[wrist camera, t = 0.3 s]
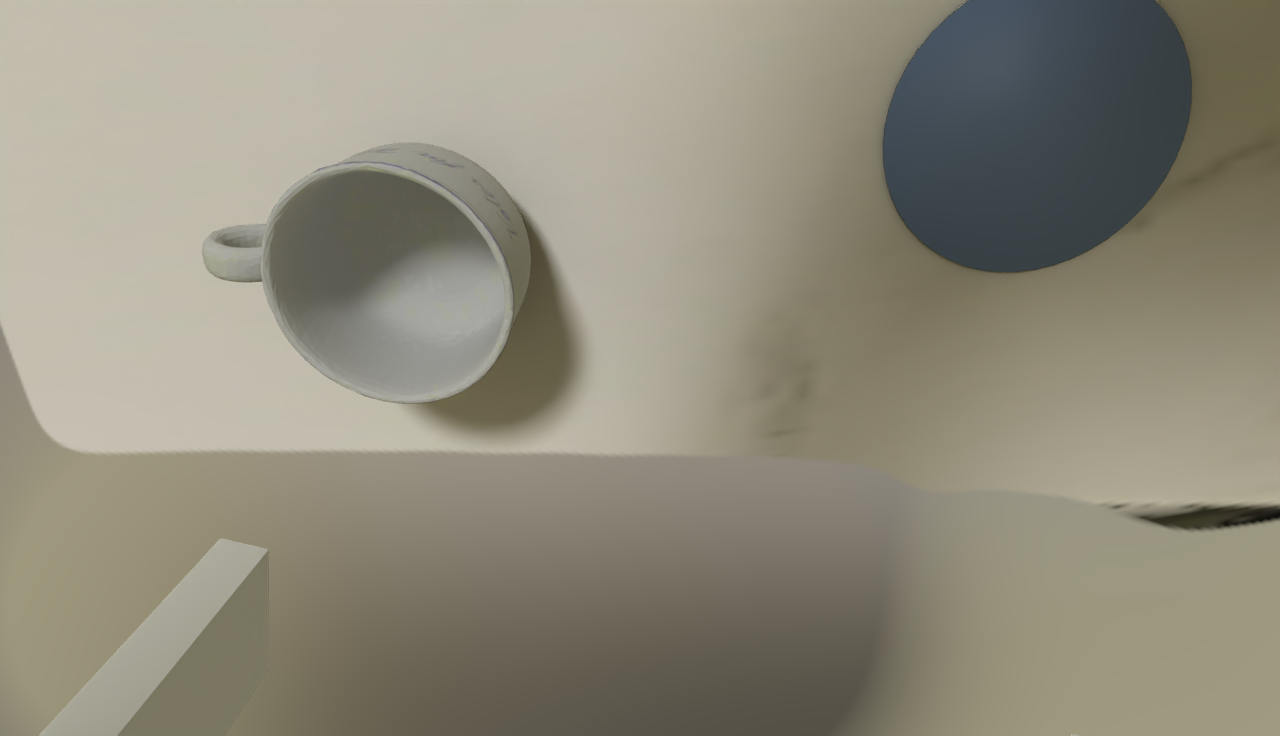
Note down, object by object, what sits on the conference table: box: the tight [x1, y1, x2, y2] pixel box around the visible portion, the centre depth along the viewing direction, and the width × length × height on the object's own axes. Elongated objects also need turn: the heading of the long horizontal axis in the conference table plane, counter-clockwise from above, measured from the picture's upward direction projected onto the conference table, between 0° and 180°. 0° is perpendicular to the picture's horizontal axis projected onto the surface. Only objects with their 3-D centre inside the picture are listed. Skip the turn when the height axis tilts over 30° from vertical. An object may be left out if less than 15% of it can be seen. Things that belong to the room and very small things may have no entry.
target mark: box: [883, 0, 1192, 272], centre depth 33 cm, size 13×13×1 cm
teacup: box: [202, 143, 531, 404], centre depth 34 cm, size 14×11×8 cm
